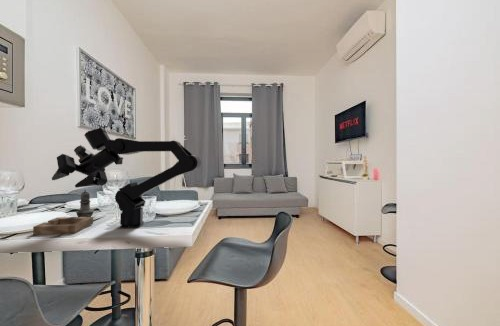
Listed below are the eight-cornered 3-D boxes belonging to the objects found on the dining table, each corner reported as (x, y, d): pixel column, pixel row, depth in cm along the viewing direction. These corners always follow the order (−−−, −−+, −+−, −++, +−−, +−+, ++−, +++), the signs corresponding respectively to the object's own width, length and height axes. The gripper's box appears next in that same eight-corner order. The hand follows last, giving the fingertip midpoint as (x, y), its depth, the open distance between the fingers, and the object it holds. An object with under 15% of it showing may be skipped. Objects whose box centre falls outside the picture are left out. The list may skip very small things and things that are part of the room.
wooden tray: (92, 223, 91) (92, 216, 91) (75, 233, 79) (75, 225, 79) (56, 224, 89) (57, 217, 89) (33, 234, 77) (33, 226, 77)
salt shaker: (84, 223, 91) (85, 190, 91) (71, 221, 93) (71, 190, 92) (97, 219, 97) (97, 189, 97) (85, 218, 98) (85, 188, 98)
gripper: (114, 153, 101) (82, 173, 101) (74, 132, 84) (36, 156, 84) (121, 175, 96) (87, 196, 96) (80, 157, 79) (39, 182, 79)
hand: (64, 182), depth 89 cm, fingers open, 9 cm apart
